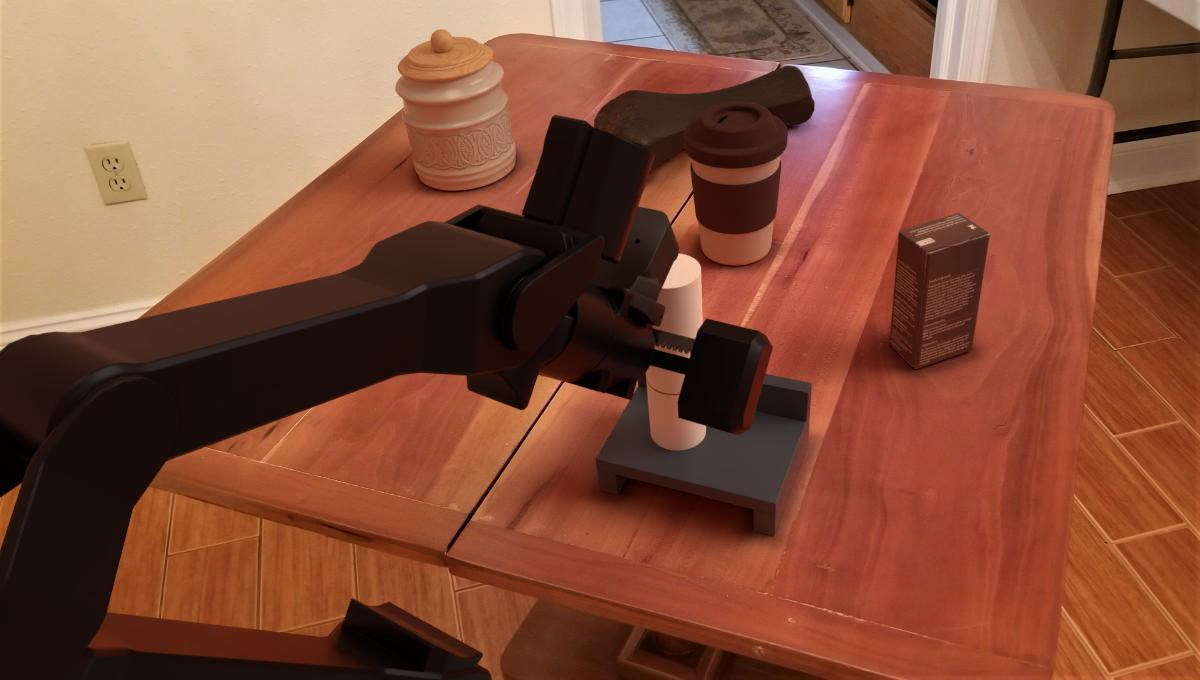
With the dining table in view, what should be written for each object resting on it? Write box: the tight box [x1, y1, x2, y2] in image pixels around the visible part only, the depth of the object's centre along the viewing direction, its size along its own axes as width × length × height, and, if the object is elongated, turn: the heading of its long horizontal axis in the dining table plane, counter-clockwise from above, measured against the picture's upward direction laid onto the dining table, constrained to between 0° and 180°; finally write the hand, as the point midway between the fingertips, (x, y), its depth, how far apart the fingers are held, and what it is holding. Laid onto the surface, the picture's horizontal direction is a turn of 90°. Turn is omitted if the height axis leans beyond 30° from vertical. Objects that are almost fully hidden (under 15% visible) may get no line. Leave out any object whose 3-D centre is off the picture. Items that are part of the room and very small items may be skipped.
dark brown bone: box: [593, 65, 816, 172], centre depth 115 cm, size 11×10×28 cm
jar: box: [394, 28, 517, 191], centre depth 113 cm, size 13×13×18 cm
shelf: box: [594, 373, 813, 537], centre depth 72 cm, size 10×14×6 cm
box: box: [888, 212, 991, 370], centre depth 79 cm, size 6×4×12 cm
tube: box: [646, 253, 706, 451], centre depth 68 cm, size 4×4×15 cm
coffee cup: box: [684, 101, 789, 266], centre depth 94 cm, size 10×10×15 cm
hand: (662, 365), depth 66 cm, fingers open, 9 cm apart
